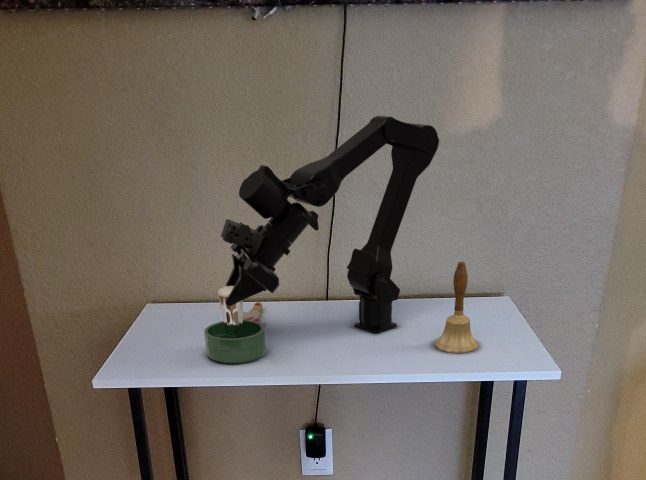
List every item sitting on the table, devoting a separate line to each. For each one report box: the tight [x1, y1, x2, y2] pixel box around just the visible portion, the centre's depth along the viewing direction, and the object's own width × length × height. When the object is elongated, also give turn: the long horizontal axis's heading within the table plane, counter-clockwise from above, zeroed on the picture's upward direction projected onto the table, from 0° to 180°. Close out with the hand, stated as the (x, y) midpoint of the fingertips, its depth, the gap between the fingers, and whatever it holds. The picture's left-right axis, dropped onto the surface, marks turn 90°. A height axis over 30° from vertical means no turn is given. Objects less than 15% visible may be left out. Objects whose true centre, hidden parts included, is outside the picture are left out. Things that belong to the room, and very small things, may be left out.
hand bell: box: [434, 261, 479, 354], centre depth 141 cm, size 8×8×16 cm
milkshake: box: [217, 278, 244, 337], centre depth 139 cm, size 4×5×10 cm
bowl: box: [204, 320, 267, 365], centre depth 143 cm, size 11×11×5 cm
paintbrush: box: [243, 301, 264, 326], centre depth 158 cm, size 4×3×20 cm
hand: (225, 300), depth 138 cm, fingers closed on milkshake, 4 cm apart
